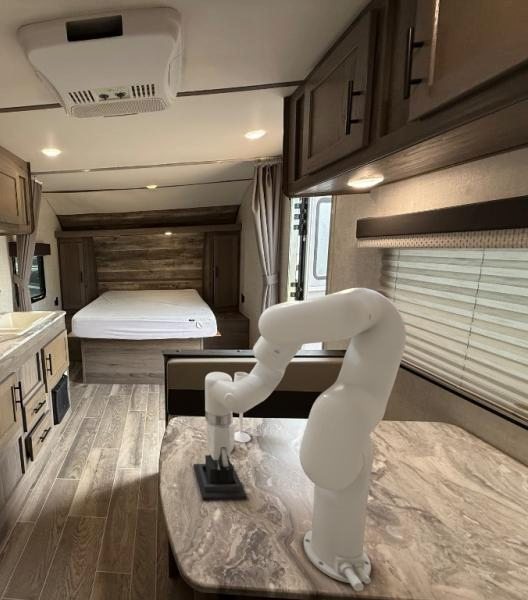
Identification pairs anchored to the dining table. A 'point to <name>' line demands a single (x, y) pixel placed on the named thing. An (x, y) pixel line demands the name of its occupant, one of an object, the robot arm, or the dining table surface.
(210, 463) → the black pad
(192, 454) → the dining table surface
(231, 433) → the white cup
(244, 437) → the champagne flute
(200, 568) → the dining table surface
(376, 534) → the dining table surface
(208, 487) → the base pad
